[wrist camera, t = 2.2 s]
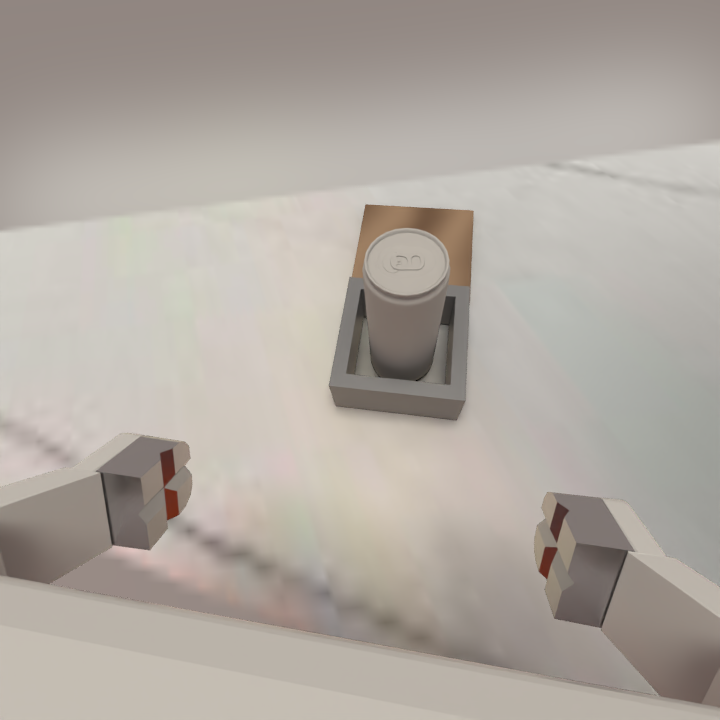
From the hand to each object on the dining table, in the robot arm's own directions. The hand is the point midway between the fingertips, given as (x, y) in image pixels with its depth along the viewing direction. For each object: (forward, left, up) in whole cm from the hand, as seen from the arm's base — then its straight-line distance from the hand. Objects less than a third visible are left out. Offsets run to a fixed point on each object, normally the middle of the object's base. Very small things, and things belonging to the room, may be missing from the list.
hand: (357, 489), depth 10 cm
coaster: (0, -24, -20) cm, 31 cm away
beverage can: (0, -13, -20) cm, 24 cm away
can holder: (0, -13, -20) cm, 24 cm away
